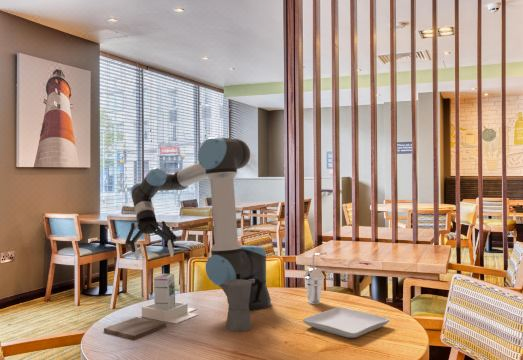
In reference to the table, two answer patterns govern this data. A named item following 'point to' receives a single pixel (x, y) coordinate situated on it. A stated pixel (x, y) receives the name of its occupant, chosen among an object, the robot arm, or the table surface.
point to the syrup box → (164, 292)
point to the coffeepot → (240, 302)
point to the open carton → (169, 313)
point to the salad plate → (346, 322)
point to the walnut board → (135, 328)
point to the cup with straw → (314, 283)
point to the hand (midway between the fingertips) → (155, 256)
